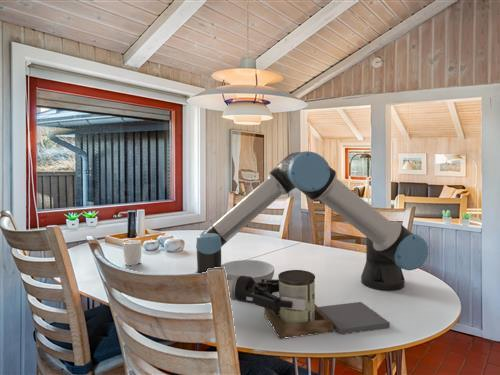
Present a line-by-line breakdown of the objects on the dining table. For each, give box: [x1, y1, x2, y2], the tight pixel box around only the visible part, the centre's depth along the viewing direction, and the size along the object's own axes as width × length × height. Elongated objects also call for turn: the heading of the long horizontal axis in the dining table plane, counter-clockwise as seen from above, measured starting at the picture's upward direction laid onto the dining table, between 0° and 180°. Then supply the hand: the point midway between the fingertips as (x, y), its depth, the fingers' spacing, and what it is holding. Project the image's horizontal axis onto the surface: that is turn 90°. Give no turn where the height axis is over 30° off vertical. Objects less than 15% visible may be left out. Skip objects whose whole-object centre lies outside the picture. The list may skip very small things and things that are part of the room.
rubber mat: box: [318, 301, 390, 335], centre depth 107 cm, size 15×15×2 cm
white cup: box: [122, 239, 142, 266], centre depth 167 cm, size 8×8×10 cm
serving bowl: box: [221, 259, 275, 283], centre depth 136 cm, size 21×21×7 cm
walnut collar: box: [263, 304, 334, 339], centre depth 106 cm, size 15×15×3 cm
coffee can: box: [277, 269, 316, 325], centre depth 105 cm, size 10×10×14 cm
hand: (310, 297), depth 104 cm, fingers open, 11 cm apart
